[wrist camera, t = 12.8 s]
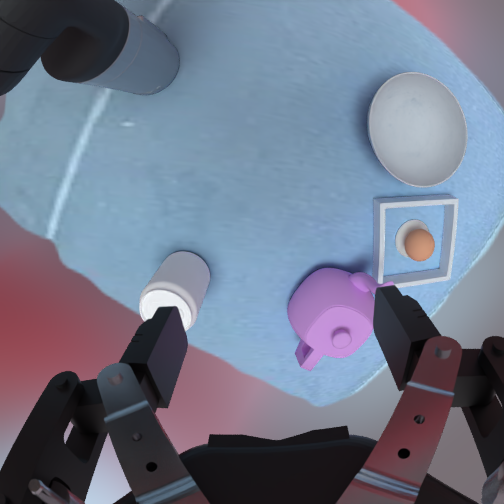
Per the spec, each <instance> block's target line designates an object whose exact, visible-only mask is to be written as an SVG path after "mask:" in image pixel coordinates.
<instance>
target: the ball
mask: <svg viewBox="0 0 504 504" xmlns="http://www.w3.org/2000/svg"><path fill="white" fill-rule="evenodd" d="M404 246H405V251H406V253H407V255H408V256H409V257H410V258H411V259H413V260H415V261H424V260H426V259H428V258H429V257H430V256H431V255H432V253H433V251H434V247H435V244H434V239H433V237H432V235H431V234H430V233H429V232H428V231H426V230H424V229H415V230H413V231H411V232H410V233H409V234H408V235H407V237H406V239H405V244H404Z"/></svg>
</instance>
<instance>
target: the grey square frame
mask: <svg viewBox="0 0 504 504" xmlns="http://www.w3.org/2000/svg"><path fill="white" fill-rule="evenodd" d="M430 205H445V212H444V227H443V239H442V249H441V257H440V265H439V269H433V270H426V271H419V272H412V273H405V274H397V275H390V276H383V269H384V249H385V209H387V208H400V207H415V206H430ZM373 206H374V241H373V273H372V278H374V279H375V281H376V282H377V283H379V284H383V283H386V282H389V281H392V282H394V285H395V286H396V287H397V288H401V287H408V286H415V285H421V284H427V283H433V282H439V281H445V280H450V275H451V269H452V262H453V255H454V247H455V238H456V228H457V215H458V198H456V197H453V196H451V195H449V194H447V195H426V196H407V197H391V198H376V199H373Z"/></svg>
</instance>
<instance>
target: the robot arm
mask: <svg viewBox="0 0 504 504" xmlns="http://www.w3.org/2000/svg"><path fill="white" fill-rule="evenodd" d="M40 56H41V61H42V64H43V67H44V69H45V70H46V72H47V73H48V74H49V75H51V76H52V77H54V78H55V79H58V80H61V81H66V82H73V83H80V84H86V85H93V86H99V87H105V88H110V89H115V90H120V91H125V92H130V93H133V94H139V95H150V94H154V93H157V92H159V91H161V90H163V89H164V88H166V87H167V86H168V85H169V84H170V83H171V82H172V80H173V79H174V78H175V76H176V74H177V71H178V68H179V55H178V52H177V50H176V48H175V47H174V46H173V45H172V44H171V43H170V42H169V41H168V40H167V36H166V34H164V33H163V32H162V31H161V30H160V29H158V28H157V27H156V26H155V25H154V24H152V23H151V22H150V21H149V20H147V19H146V18H145V17H144V16H136V15H134V14H133V13H131V12H130V11H129V10H127V9H126V8H124V7H123V6H122V5H120V4H119V3H117V2H116V1H115V0H0V96H1V95H4V94H6V93H7V92H9V91H11V90H12V89H13V88H14V87H15V86H16V85H17V84H18V83H19V82H20V81H21V80H22V78H23V77H24V76H25V75H26V74H27V72H28V71H29V70H30V69H31V67H32V66H33V65H34V64H35V62H36V61H37V60H38V59H39V58H40ZM373 328H374V333H375V335H376V338H377V340H378V342H379V345H380V347H381V349H382V351H383V354H384V356H385V358H386V361H387V363H388V366H389V368H390V370H391V373H392V375H393V378H394V380H395V382H396V385H397V387H398V390H399V391H402V390H404V392H403V394H402V396H401V398H400V400H399V402H398V404H397V406H396V408H395V410H394V412H393V415H392V416H391V418H390V420H389V422H388V424H387V426H386V428H385V430H384V431H383V433H382V435H381V437H380V439H379V440H378V441H376V440H373V439H370V438H367V437H363V436H357V435H349V432H348V428H347V426H341V427H334V428H327V429H319V430H312V431H310V432H306V433H303V434H300V435H296V436H294V437H289V438H286V439H282V440H270V439H263V438H258V437H253V436H247V435H213V434H210V436H209V441H208V444H203V445H200V446H196V447H194V448H191V449H189V450H187V451H185V452H183V453H181V454H178V452H177V451H176V449H175V447H174V446H173V444H172V443H171V441H170V439H169V437H168V436H167V434H166V433H165V431H164V429H163V427H162V425H161V424H160V422H159V420H158V418H157V416H156V414H155V412H156V409H157V408H168V406H169V403H170V400H171V397H172V394H173V391H174V388H175V385H176V381H177V378H178V376H179V373H180V370H181V366H182V363H183V361H184V358H185V355H186V352H187V346H188V342H187V336H186V332H185V329H184V326H183V322H182V319H181V316H180V312H179V309H178V307H177V306H164V307H158V308H157V310H156V312H155V313H154V315H153V317H152V319H147V320H146V321H145V322H144V323H143V324H141V326H139V328H138V330H137V331H136V333H135V336H134V337H133V338H132V340H131V342H130V343H129V345H128V347H127V349H126V351H125V352H124V354H123V356H122V358H121V360H120V361H119V363H115V364H112V365H109V366H107V367H105V368H104V369H103V370H102V371H101V372H100V373H99V375H98V377H97V379H92V380H86V381H80V379H79V378H78V376H77V375H76V373H74V372H71V371H65V372H61V373H59V374H57V375H56V376H54V377H53V378H52V379H51V380H50V382H49V383H48V385H47V387H46V388H45V390H44V391H43V393H42V395H41V396H40V398H39V400H38V402H37V403H36V405H35V406H34V408H33V410H32V412H31V413H30V415H29V417H28V419H27V420H26V422H25V424H24V426H23V428H22V430H21V431H20V433H19V435H18V437H17V439H16V441H15V443H14V444H13V446H12V448H11V450H10V452H9V454H8V456H7V458H6V460H5V462H4V464H3V466H2V468H1V470H0V504H85V503H84V502H85V499H86V495H87V492H88V489H89V486H90V483H91V480H92V476H93V474H94V471H95V467H96V465H97V462H98V459H99V456H100V453H101V450H102V448H103V444H104V442H105V439H106V436H107V434H108V433H109V436H110V438H111V441H112V444H113V447H114V449H115V452H116V455H117V457H118V460H119V462H120V465H121V467H122V469H123V472H124V474H125V477H126V479H127V481H128V483H129V486H130V488H131V490H132V491H131V492H129V493H128V494H126V495H125V496H123V497H122V498H121V499H119V500H118V501H116V502H115V503H113V504H478V503H477V502H475V501H474V500H472V499H470V498H468V497H466V496H465V495H463V494H461V493H459V492H458V491H456V490H454V489H453V488H451V487H449V486H448V485H446V484H444V483H443V482H441V481H439V480H438V479H436V478H434V477H432V476H431V475H430V474H428V473H427V471H428V469H429V466H430V464H431V462H432V459H433V457H434V454H435V452H436V449H437V446H438V444H439V441H440V438H441V436H442V433H443V430H444V427H445V424H446V421H447V418H448V415H449V412H450V408H451V407H461V408H462V411H463V413H464V415H465V418H466V420H467V423H468V425H469V427H470V430H471V433H472V435H473V438H474V440H475V443H476V446H477V449H478V451H479V454H480V457H481V460H482V463H483V466H484V468H485V472H486V475H487V479H486V481H485V482H484V484H483V487H482V499H481V503H482V504H504V338H502V337H499V336H492V337H488V338H487V339H485V340H484V342H483V344H482V347H481V349H462V348H461V345H460V344H459V343H458V342H457V341H456V340H454V339H452V338H450V337H446V336H441V334H440V333H439V332H438V330H437V329H436V327H435V326H434V324H433V323H432V321H431V320H430V319H429V317H428V316H427V314H426V313H425V312H424V310H422V307H421V306H420V305H419V303H418V302H417V301H416V300H414V299H413V298H411V297H410V296H408V295H406V296H402V294H401V293H400V291H399V290H398V288H397V287H396V286H395V285H390V286H383V287H377V288H376V292H375V304H374V315H373ZM496 394H497V396H498V398H499V400H500V401H501V403H502V407H501V405H500V403H499V401H498V399H497V397H496ZM502 408H503V409H502ZM70 421H71V423H72V424H73V425H74V426H73V428H72V430H71V433H70V435H69V437H68V439H67V441H66V444H65V443H64V433H65V431H66V428H67V426H68V424H69V422H70Z"/></svg>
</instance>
